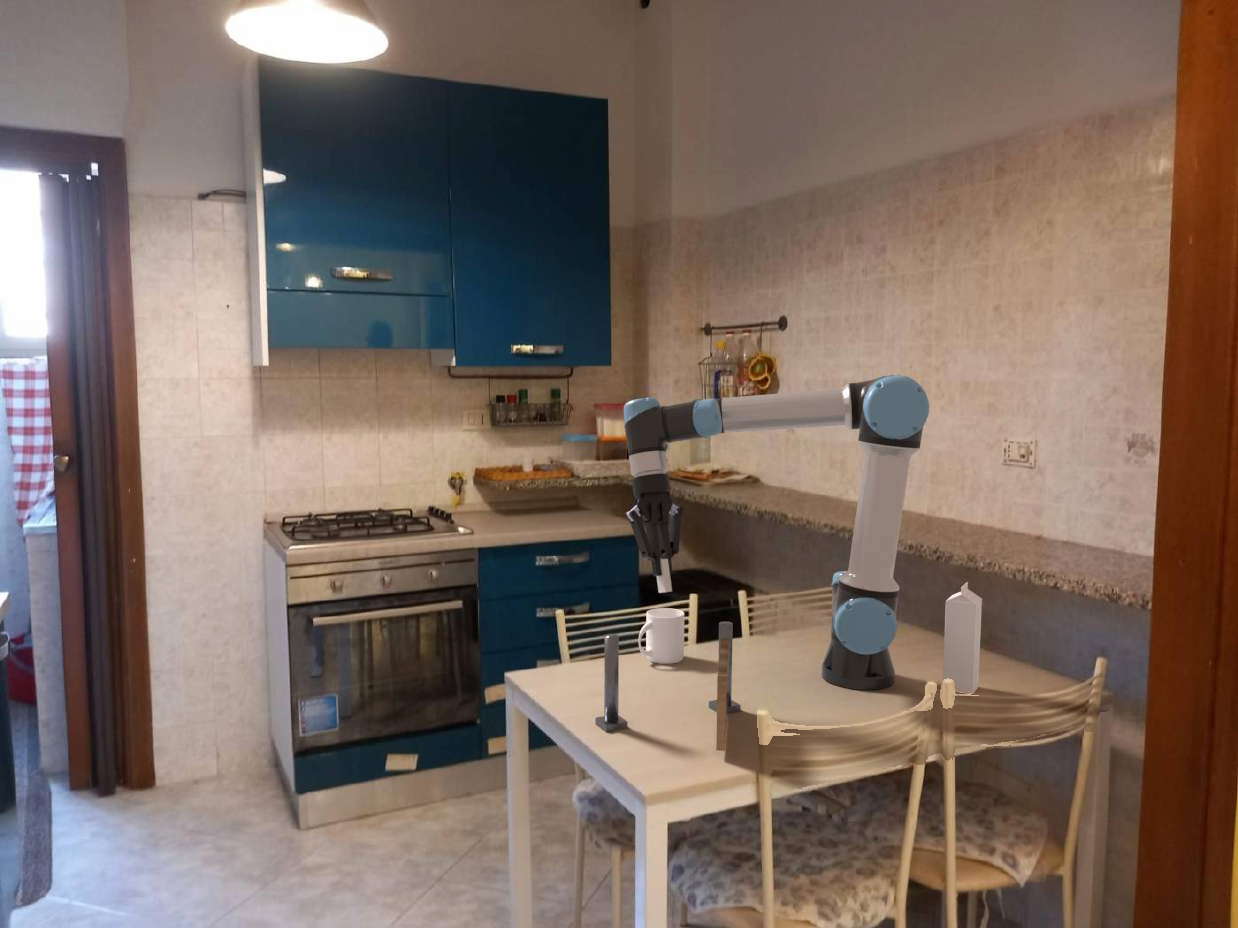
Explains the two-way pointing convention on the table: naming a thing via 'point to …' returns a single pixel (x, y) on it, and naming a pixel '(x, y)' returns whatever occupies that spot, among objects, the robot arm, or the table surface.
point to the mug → (663, 635)
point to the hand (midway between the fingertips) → (665, 591)
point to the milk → (962, 640)
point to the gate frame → (611, 681)
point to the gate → (722, 694)
